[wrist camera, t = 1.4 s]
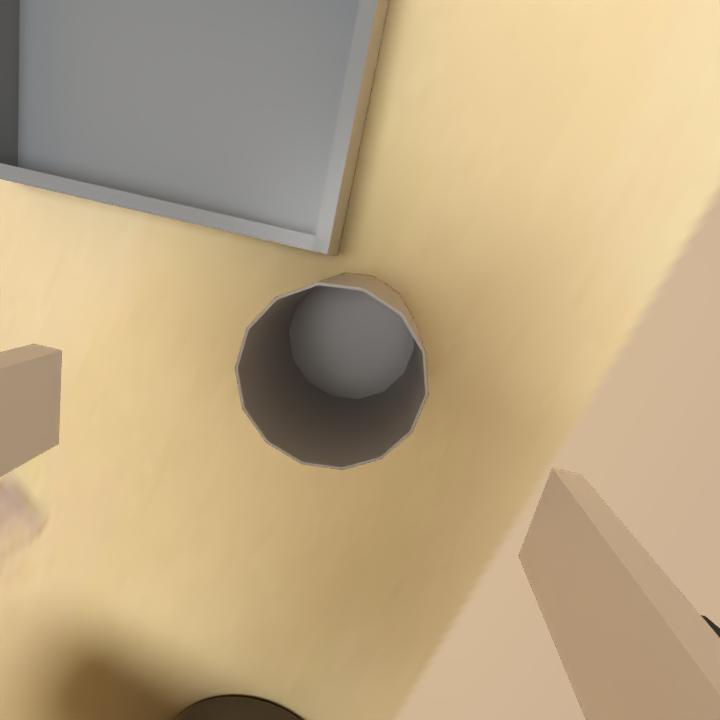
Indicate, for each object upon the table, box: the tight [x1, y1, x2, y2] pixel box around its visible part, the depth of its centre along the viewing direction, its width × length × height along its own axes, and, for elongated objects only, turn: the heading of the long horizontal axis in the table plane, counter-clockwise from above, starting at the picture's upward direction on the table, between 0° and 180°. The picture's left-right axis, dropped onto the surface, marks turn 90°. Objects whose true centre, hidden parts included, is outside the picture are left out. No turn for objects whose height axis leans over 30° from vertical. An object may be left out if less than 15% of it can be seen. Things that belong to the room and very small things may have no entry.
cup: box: [235, 273, 428, 470], centre depth 23 cm, size 8×8×10 cm
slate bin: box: [0, 0, 390, 255], centre depth 23 cm, size 15×21×4 cm
